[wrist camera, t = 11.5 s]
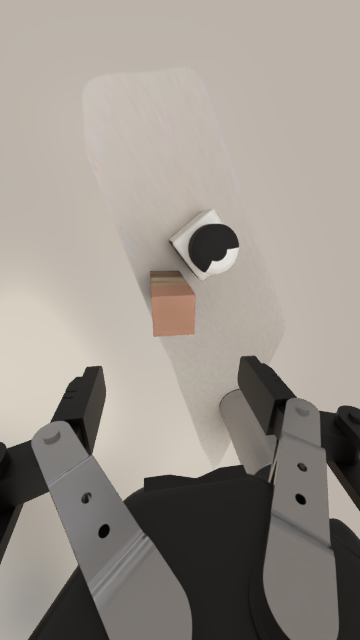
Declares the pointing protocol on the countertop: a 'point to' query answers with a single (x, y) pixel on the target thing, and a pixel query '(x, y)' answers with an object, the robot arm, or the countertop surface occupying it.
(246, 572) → the robot arm
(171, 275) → the tower bottom
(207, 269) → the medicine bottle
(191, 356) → the countertop surface
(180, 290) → the clay block
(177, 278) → the tower top
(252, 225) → the countertop surface
